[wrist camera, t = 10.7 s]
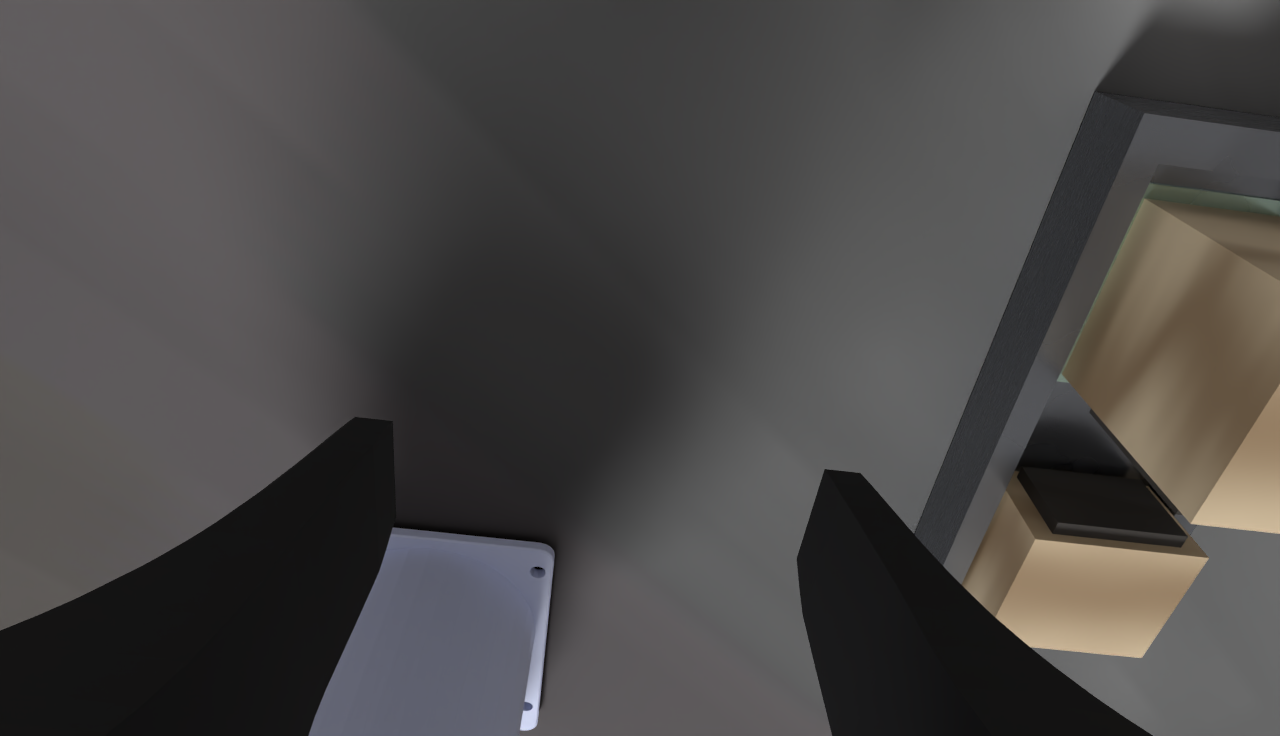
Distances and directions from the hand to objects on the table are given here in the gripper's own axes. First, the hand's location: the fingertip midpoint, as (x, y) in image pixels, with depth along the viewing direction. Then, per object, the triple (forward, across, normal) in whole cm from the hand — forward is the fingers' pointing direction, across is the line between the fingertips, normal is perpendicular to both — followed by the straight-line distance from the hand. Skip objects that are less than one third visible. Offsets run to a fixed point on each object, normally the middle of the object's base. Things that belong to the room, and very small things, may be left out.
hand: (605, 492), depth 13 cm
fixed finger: (+8, -14, +6) cm, 18 cm away
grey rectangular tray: (+9, -14, +2) cm, 17 cm away
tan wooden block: (+8, -14, -1) cm, 16 cm away
